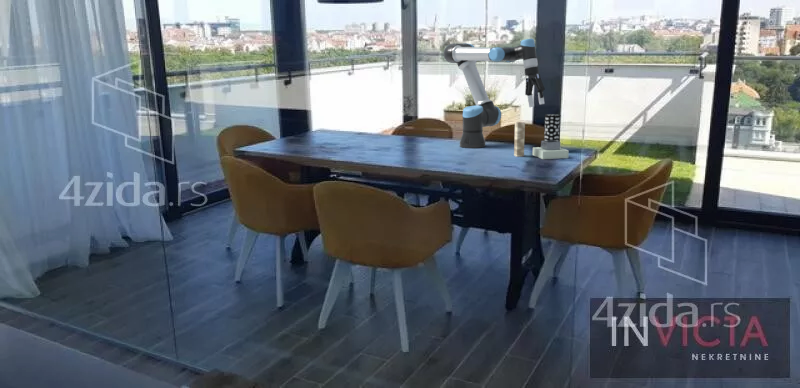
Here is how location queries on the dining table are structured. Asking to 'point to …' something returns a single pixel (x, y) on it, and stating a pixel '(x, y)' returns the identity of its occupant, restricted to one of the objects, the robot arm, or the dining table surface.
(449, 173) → the dining table surface
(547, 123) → the spotted tube
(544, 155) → the mounting block
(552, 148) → the cup bracket
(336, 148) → the dining table surface
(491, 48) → the robot arm
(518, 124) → the rail post
